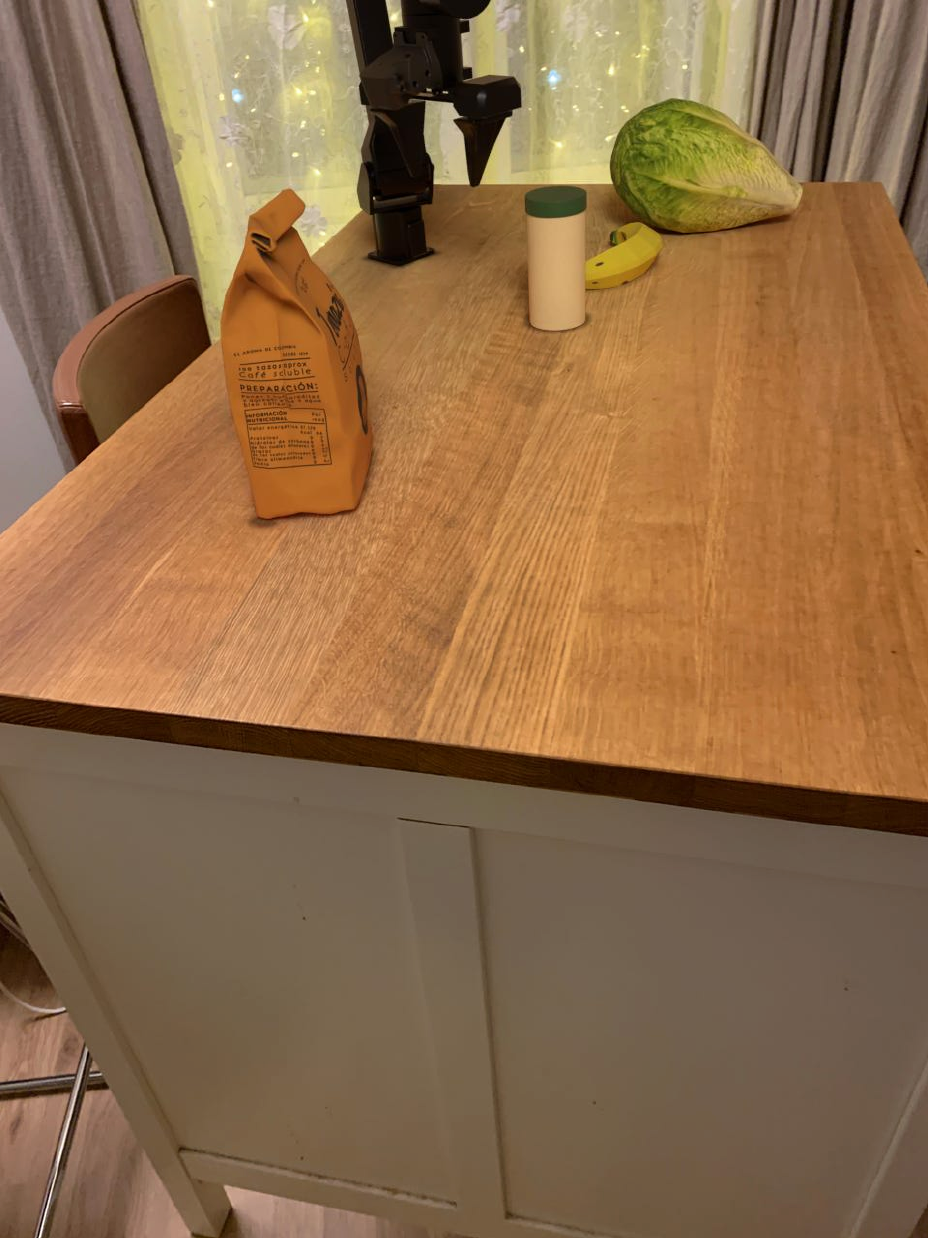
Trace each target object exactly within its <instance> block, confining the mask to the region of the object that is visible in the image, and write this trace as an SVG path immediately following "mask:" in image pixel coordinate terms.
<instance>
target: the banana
mask: <svg viewBox="0 0 928 1238" xmlns="http://www.w3.org/2000/svg"><path fill="white" fill-rule="evenodd" d="M609 240H610V243H611V244H615V246H612V247H611V248H609V249H607V250H605V251H603V252H600V254H597V255H596V256H593V257H591V258H590V259H587V260H585V290H602V289H610V288H616V287H620V286H622V285H626V284H628V283H631V282H633V281H634V280H636V279H637V278H639V277H641V276H643V275H644V274H645V273H646V272H647V271H648V269H649V268H650V267H651V266H652V265H653V263H654V262H655V260H656V259H657V257H658V256H659V254H660V252H661V251H662V249H663V248H664V244H663V239H662V237H661V234H660V233H659V232H657V231H655V230H654V229H652V228H651V227H649V226H648V225H646V224H644V223H642V222H639V221H636V222H629V223H627V224H625V225H622V226H620V227H619V228H618V229H616V230H613V231H611V232H610V234H609Z"/></svg>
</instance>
